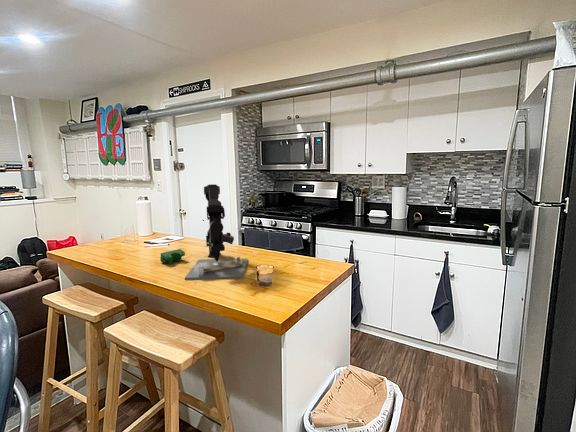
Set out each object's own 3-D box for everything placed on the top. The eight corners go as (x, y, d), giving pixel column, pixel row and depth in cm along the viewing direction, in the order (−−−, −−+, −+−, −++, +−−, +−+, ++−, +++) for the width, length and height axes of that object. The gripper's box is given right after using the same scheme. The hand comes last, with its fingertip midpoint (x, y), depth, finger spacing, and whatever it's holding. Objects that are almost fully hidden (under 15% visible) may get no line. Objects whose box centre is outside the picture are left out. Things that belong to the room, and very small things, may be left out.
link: (240, 263, 160) (240, 255, 159) (243, 265, 156) (243, 257, 156) (201, 270, 150) (201, 261, 149) (203, 272, 146) (203, 264, 146)
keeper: (208, 271, 151) (208, 261, 150) (214, 275, 146) (214, 264, 145) (193, 275, 147) (192, 264, 146) (199, 279, 141) (198, 268, 140)
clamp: (169, 272, 165) (163, 259, 159) (163, 267, 168) (157, 254, 163) (188, 259, 171) (183, 247, 166) (182, 255, 175) (177, 242, 170)
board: (198, 261, 168) (198, 259, 168) (247, 260, 170) (247, 258, 170) (184, 279, 141) (184, 277, 141) (243, 278, 142) (242, 276, 142)
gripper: (235, 232, 145) (236, 265, 147) (230, 225, 162) (231, 254, 165) (210, 234, 141) (211, 267, 144) (208, 226, 159) (209, 256, 161)
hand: (217, 261), depth 154 cm, fingers closed
